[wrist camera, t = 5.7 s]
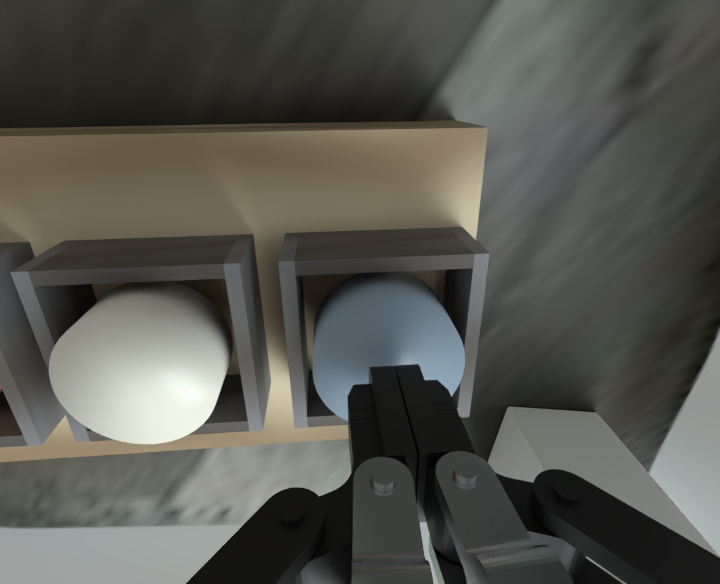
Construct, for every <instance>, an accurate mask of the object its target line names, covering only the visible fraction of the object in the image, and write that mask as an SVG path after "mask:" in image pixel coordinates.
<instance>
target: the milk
mask: <svg viewBox="0 0 720 584" xmlns="http://www.w3.org/2000/svg"><path fill="white" fill-rule="evenodd" d="M488 464H489V465H490V466H491V467H492V469H493V470H494V472H495V473H497V474H499V475H502V476H505V477H509V478H513V479H518V480H523V481H528V482H533V483H534V480H535V478H536V476H537V475H538V474H539V473H541V472H543V471H545V470H550V469H559V470H565V471H568V472H571V473H574V474H576V475H578V476H580V477H581V478H583V479H585V480H586V481H588V482H590V483H592V484H593V485H595V486H597V487H599V488H600V489H602V490H604V491H605V492H607V493H609V494H611V495H612V496H614V497H616V498H618V499H619V500H621V501H623V502H625V503H626V504H628V505H630V506H631V507H633V508H635V509H637V510H638V511H640V512H642V513H644V514H645V515H647V516H649V517H650V518H652V519H654V520H656V521H657V522H659V523H661V524H663V525H664V526H666V527H668V528H669V529H671V530H673V531H675V532H676V533H678V534H680V535H682V536H683V537H685V538H687V539H688V540H690V541H692V542H694V543H695V544H697V545H699V546H701V547H702V548H704V549H706V550H707V551H709V552H711V553H713V554H714V555H716V556H718V557H720V556H719V555H718V554H717V553H716V552H715V550H714V549H713V548H712V547H711V546H710V545H709V543H708V542H707V541H706V540H705V539H704V538H703V536H702V535H701V534H700V533H699V532H698V531H697V529H695V527H694V526H693V525H692V524H691V523H690V521H689V520H688V519H687V518H686V517H685V515H684V514H683V513H682V512H681V511H680V510H679V508H678V507H677V506H676V505H675V504H674V502H673V501H672V500H671V499H670V498H669V497H668V496H667V494H666V493H665V492H664V491H663V490H662V488H661V487H660V486H659V485H658V484H657V483H656V481H655V480H654V479H653V478H652V477H651V476H650V474H649V473H648V472H647V471H646V470H645V469H644V467H643V466H642V465H641V464H640V463H639V462H638V460H637V459H636V458H635V457H634V456H633V455H632V453H631V452H630V451H629V450H628V449H627V447H626V446H625V445H624V444H623V443H622V442H621V440H620V439H619V438H618V437H617V436H616V435H615V433H614V432H613V431H612V430H611V429H610V428H609V426H608V425H607V424H606V423H605V422H604V421H603V419H602V418H601V417H600V416H599V415H598V414H597V413H596V412H584V411H569V410H554V409H540V408H525V407H507V410H506V413H505V415H504V418H503V421H502V424H501V426H500V429H499V432H498V435H497V437H496V440H495V443H494V446H493V448H492V451H491V454H490V457H489V459H488ZM586 558H587V559H588V560H590V561H591V562H593V563H594V564H596V565H597V566H598V567H600V568H601V569H603V570H604V571H606V572H607V573H608V574H610V575H611V576H613V577H614V578H616V579H617V580H619V581H620V582H621V583H623V584H626V583H625V582H623V581H622V580H620V579H619V578H617V577H616V576H615V575H613V574H612V573H610V572H609V571H607V570H606V569H604V568H603V567H602V566H600V565H599V564H597V563H596V562H594V561H593V560H592V559H590V558H589V557H587V556H586Z"/></svg>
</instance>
